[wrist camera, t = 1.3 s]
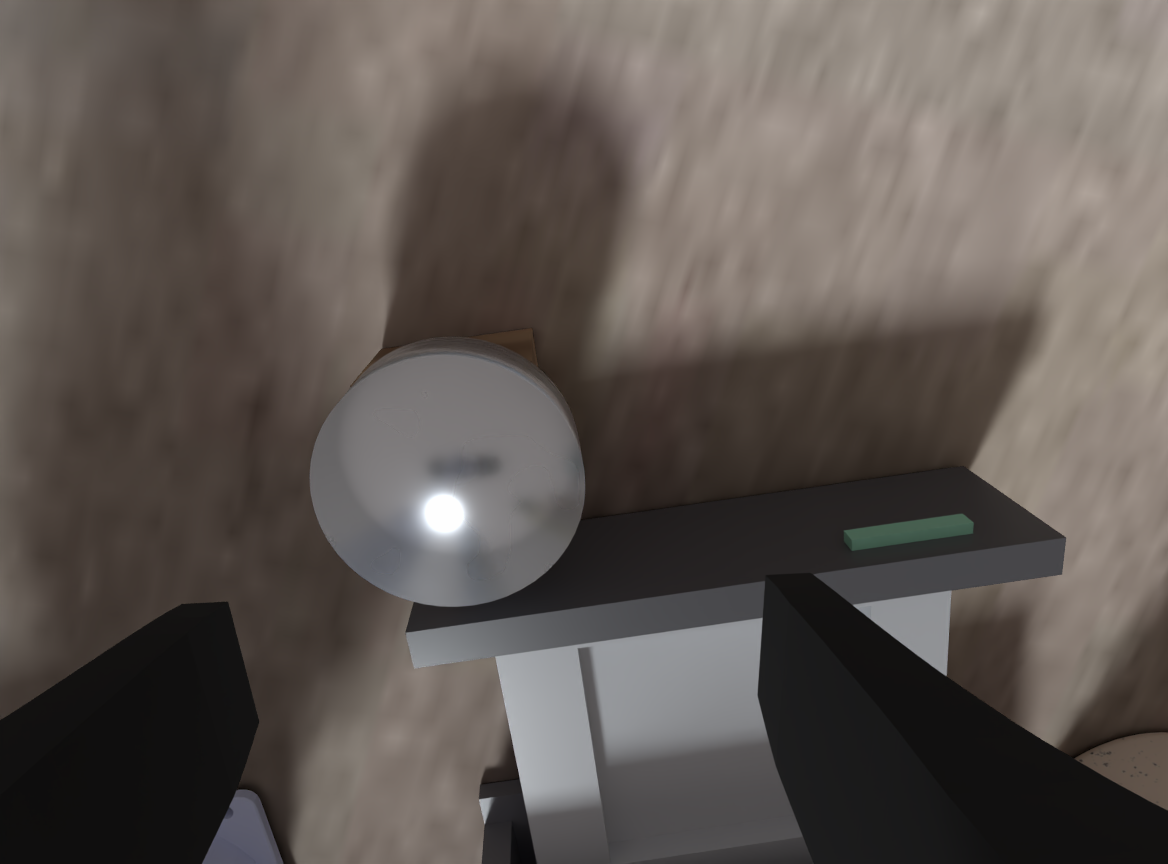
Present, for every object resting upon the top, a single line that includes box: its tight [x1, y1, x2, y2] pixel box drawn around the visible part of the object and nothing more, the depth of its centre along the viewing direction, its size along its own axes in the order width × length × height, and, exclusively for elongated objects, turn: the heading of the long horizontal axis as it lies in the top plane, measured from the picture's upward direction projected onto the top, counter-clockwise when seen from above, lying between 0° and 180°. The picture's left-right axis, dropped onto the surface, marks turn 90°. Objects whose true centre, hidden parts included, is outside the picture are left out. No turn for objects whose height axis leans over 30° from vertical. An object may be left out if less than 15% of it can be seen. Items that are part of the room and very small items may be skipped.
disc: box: [309, 337, 585, 607], centre depth 16 cm, size 6×6×2 cm
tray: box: [405, 466, 1066, 864], centre depth 21 cm, size 16×12×4 cm
